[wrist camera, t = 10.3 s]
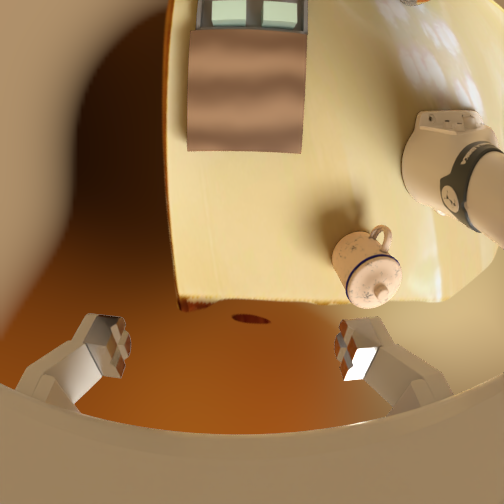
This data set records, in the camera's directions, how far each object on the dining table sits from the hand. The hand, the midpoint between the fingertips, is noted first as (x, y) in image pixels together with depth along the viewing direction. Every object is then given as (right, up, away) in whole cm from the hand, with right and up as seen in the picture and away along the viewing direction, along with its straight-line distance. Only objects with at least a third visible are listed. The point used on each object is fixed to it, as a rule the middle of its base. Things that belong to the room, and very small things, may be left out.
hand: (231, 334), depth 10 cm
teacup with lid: (+18, +4, +34) cm, 39 cm away
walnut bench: (0, +24, +22) cm, 33 cm away
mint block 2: (+4, +31, +16) cm, 35 cm away
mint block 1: (-2, +31, +16) cm, 35 cm away
